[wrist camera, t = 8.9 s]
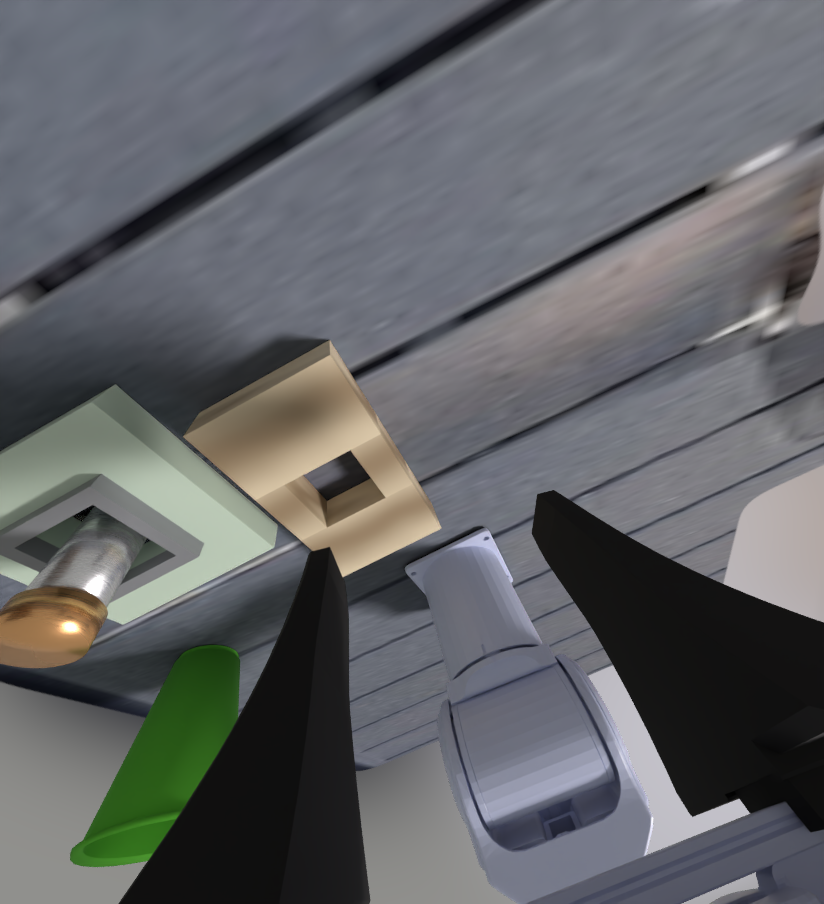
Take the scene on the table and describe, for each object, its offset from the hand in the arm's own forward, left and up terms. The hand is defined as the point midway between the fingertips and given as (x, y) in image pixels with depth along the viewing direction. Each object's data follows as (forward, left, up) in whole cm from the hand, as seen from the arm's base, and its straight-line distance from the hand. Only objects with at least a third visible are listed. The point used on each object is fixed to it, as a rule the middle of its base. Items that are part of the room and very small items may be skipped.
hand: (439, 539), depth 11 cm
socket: (+2, +17, -10) cm, 20 cm away
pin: (+2, +17, -10) cm, 20 cm away
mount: (-2, +5, -10) cm, 12 cm away
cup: (-14, +26, -11) cm, 31 cm away
